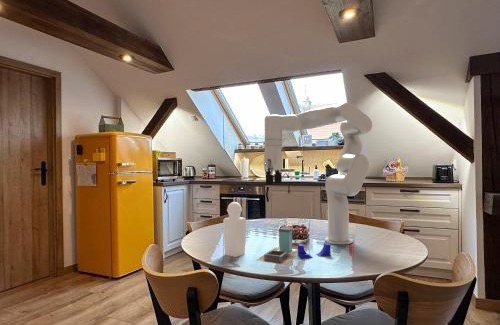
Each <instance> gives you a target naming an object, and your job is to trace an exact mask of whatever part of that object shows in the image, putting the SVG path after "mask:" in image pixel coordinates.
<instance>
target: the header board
mask: <svg viewBox="0 0 500 325" xmlns="http://www.w3.org/2000/svg"><path fill="white" fill-rule="evenodd" d="M297 256H298V248H297V249H295V248H292V251H290V252H285V251H280V247H277V246H276V247H274V248H273V249H271V250H268V251H267V252H265V253H264V254H263V255H262V256H260V257H258V258H257V259H256V261H259V262H266V263H273V264H281V265H288V264H290V263H291V261H293V260H294V259H295V258H296V257H297Z"/></svg>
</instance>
